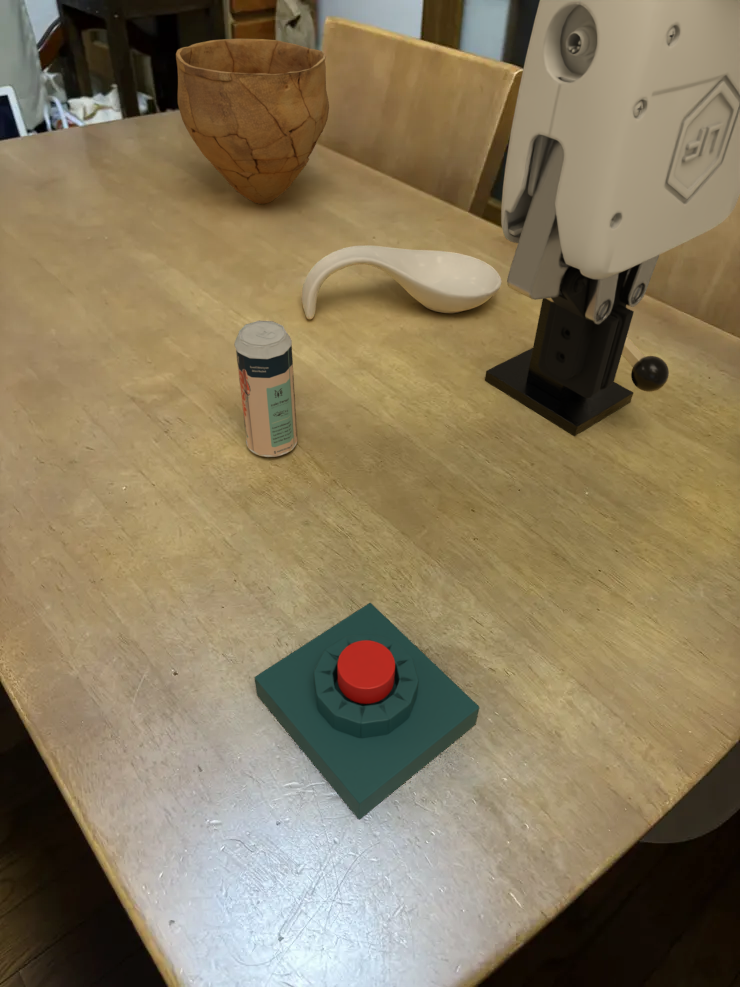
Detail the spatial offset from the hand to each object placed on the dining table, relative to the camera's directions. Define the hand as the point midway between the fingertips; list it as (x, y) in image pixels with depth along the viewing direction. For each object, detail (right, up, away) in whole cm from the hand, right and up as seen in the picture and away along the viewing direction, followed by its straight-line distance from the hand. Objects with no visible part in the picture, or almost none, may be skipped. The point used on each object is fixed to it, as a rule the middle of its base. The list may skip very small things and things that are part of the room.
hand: (574, 378), depth 35 cm
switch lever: (+12, +9, +35) cm, 38 cm away
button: (-10, -17, +13) cm, 23 cm away
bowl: (-26, +38, +77) cm, 89 cm away
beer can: (-19, -1, +35) cm, 40 cm away
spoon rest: (-6, +17, +55) cm, 58 cm away
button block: (-10, -20, +15) cm, 27 cm away
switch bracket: (+10, +5, +43) cm, 44 cm away
